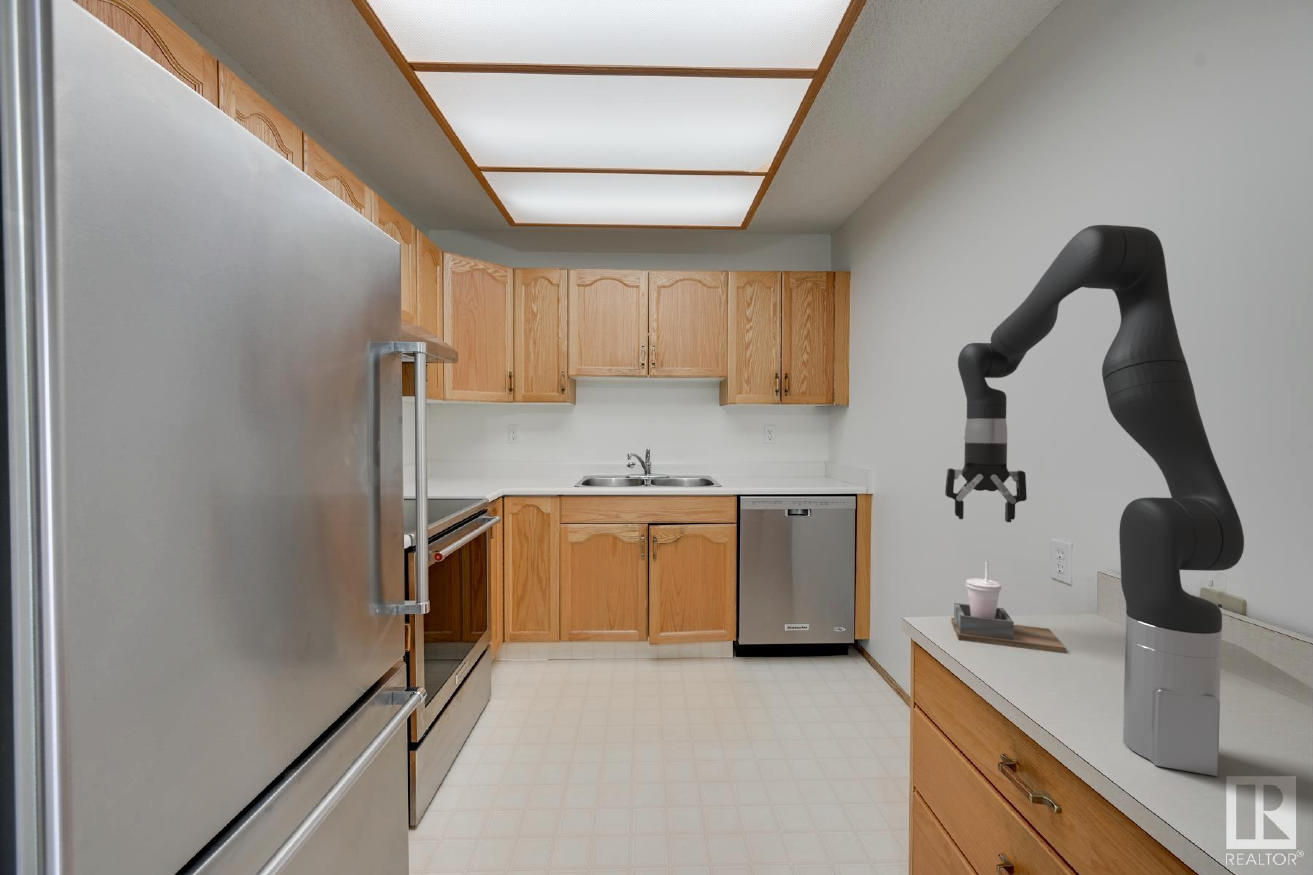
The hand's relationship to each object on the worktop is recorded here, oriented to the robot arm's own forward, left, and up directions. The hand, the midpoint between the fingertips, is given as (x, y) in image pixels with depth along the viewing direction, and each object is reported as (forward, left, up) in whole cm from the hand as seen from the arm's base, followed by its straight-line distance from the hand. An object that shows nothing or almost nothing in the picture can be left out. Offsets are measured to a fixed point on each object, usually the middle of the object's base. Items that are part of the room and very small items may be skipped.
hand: (984, 520), depth 117 cm
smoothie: (0, 0, -23) cm, 23 cm away
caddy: (0, -4, -23) cm, 24 cm away
